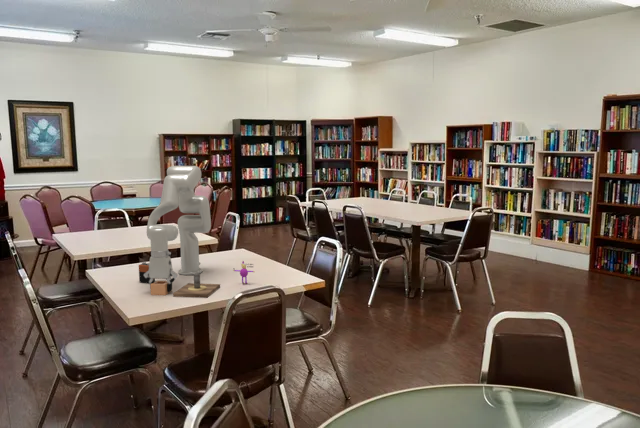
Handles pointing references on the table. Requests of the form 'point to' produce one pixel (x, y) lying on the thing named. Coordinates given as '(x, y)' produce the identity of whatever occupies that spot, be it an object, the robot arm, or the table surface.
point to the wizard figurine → (244, 271)
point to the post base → (196, 289)
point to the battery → (143, 272)
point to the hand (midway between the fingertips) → (161, 291)
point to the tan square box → (159, 288)
